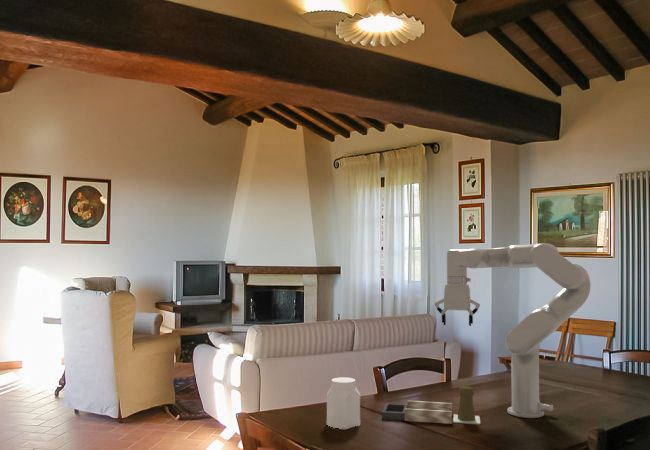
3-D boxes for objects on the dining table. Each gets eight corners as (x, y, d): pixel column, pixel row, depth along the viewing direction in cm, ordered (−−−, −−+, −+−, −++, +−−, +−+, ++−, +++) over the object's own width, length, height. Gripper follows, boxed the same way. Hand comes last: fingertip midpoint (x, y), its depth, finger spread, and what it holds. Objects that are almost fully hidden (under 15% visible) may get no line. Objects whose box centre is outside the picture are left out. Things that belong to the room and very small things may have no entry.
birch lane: (452, 414, 211) (452, 403, 211) (451, 423, 199) (451, 411, 200) (407, 411, 215) (407, 400, 215) (404, 420, 203) (404, 409, 203)
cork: (476, 421, 201) (476, 389, 201) (458, 420, 202) (458, 388, 202) (474, 416, 207) (474, 385, 207) (457, 415, 208) (456, 384, 208)
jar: (339, 430, 191) (339, 384, 192) (321, 424, 199) (321, 379, 199) (365, 424, 199) (365, 379, 199) (346, 418, 206) (346, 375, 207)
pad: (479, 417, 208) (479, 415, 208) (480, 424, 199) (480, 423, 199) (453, 415, 210) (453, 414, 210) (453, 422, 201) (453, 421, 201)
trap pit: (407, 411, 215) (407, 404, 215) (404, 420, 203) (404, 413, 203) (386, 410, 217) (386, 403, 217) (381, 419, 205) (381, 411, 205)
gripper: (479, 280, 229) (479, 324, 228) (434, 280, 233) (435, 323, 232) (480, 281, 222) (480, 327, 221) (434, 281, 226) (434, 325, 225)
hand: (457, 325), depth 227 cm, fingers open, 9 cm apart
